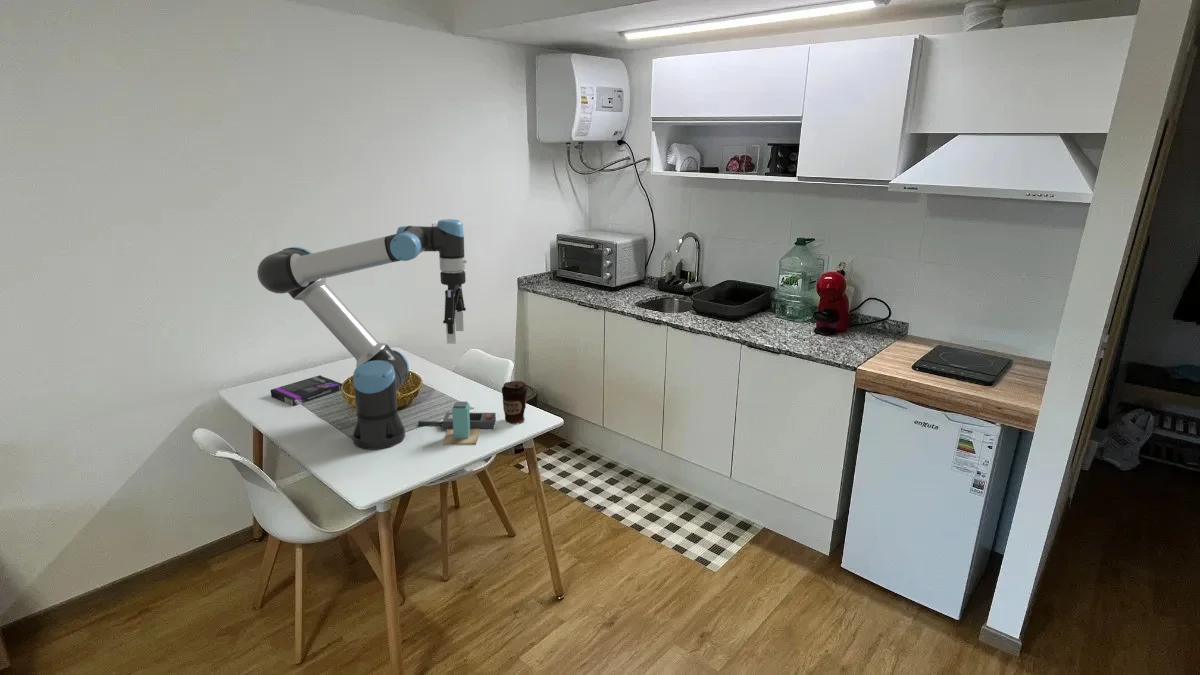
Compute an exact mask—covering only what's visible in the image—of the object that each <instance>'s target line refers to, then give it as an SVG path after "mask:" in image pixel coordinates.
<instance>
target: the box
mask: <svg viewBox="0 0 1200 675" xmlns="http://www.w3.org/2000/svg"><path fill="white" fill-rule="evenodd" d="M341 386H343V383H341V382H339V381H336V380H332V379H331V378H328V377H325V376H322V375H320V374H319V375H316V376H313V377H310V378H306V379H302V380H300V381H299V380H298V381H295V382H292V383H289V384H285V385H282V386H279V387H276V388H273V389H270V396H271V398H272V399H275V400H278V401H279V402H282V403H285V404H286V405H290V406H292V407H295V406H298V405H301V404H305V403H308V402H310V401H314V400H317V399H319V398H323V397H326V396H328V395H331V394H334V393H337V392H340V391H342V390H341Z"/></svg>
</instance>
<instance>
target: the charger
mask: <svg viewBox="0 0 1200 675" xmlns="http://www.w3.org/2000/svg"><path fill="white" fill-rule="evenodd" d="M451 409H452V410H451V411H452V412H451V413H452V414H453V435H454V439H468V438H469V435H470V413H471V412H470V403H469V402H468V401H455V402H454V404H453V406H452V408H451Z"/></svg>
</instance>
